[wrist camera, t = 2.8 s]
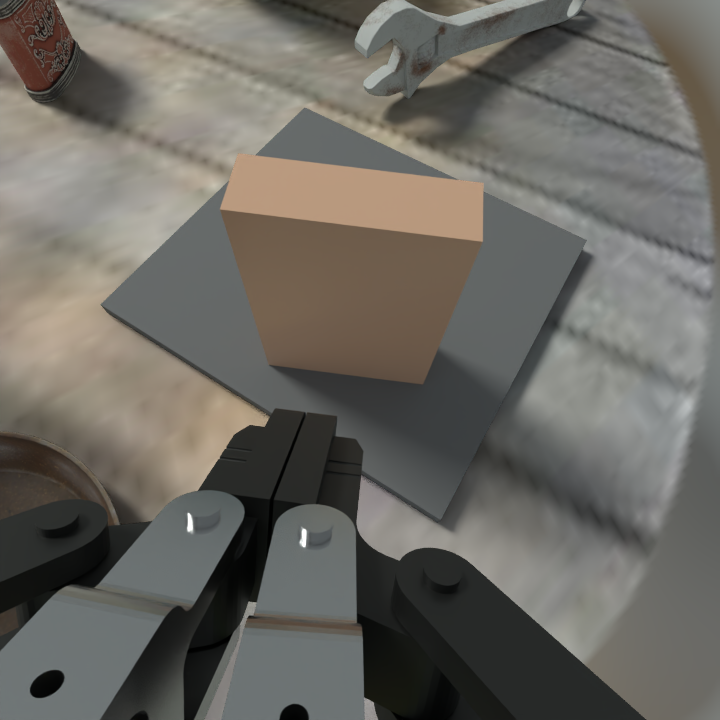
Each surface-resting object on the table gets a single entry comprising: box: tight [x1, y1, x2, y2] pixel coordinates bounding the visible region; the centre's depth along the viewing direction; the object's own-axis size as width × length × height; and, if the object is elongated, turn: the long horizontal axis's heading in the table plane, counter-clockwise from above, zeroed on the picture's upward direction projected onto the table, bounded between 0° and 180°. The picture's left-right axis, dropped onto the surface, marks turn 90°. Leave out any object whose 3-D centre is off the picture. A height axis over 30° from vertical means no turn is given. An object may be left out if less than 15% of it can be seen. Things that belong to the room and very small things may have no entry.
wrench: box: [355, 0, 586, 99], centre depth 44 cm, size 8×2×30 cm
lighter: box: [0, 0, 81, 102], centre depth 39 cm, size 8×3×10 cm, turn 176°
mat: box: [101, 108, 587, 522], centre depth 35 cm, size 26×24×1 cm
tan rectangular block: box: [220, 153, 483, 385], centre depth 25 cm, size 3×10×14 cm, turn 83°
